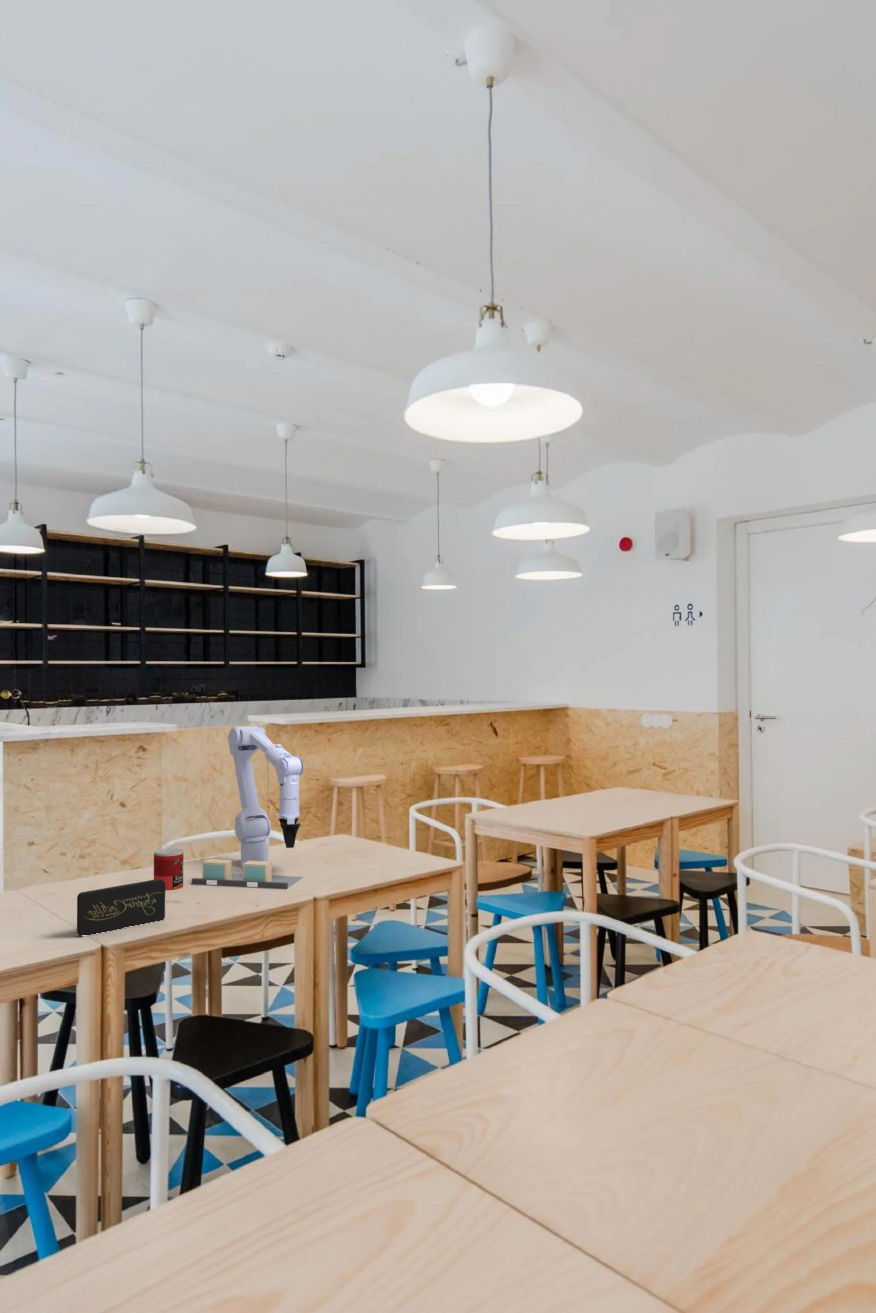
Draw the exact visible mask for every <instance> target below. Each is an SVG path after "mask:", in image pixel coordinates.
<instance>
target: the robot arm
mask: <svg viewBox="0 0 876 1313" xmlns="http://www.w3.org/2000/svg"><path fill="white" fill-rule="evenodd" d="M227 739H228V740H227V741H228V746H229V752H230V755H232V756H233V762H234V764H233V765H234V769H235V770H234V771H235V776H236V780H237V787H238V788H237V789H238V793H239V801H240V806H241V810H240V811H239V812H238V814H236V816H235V817H234V825H235V826H234V834H235V836H236V838H237V840H238V841H240V868H242V869H243V863H245V862H247V861H264V862H269V844H268V842H267V840H268V837H269V836H270V833H271V831H272V824H271V821H270V819H269V816H268V813H267V811H266V810H264V809H263V808H262V807H260V805H259V799H258V795H257V794H258V793H257V787H256V782H255V775H254V770H253V765H252V757H253V755H254V754H256V753H257V751H258V750H260V751H262V752H263V753H264V757H265V759H266V760H267V761H268V762H269V763H270V764H271V765H272V766H273V767H274V768H275V773H276V775H277V782H278V783H279V801H278V802H279V808H278V809H279V812H276V813H275V814H274V815H275V817H277V818H278V821H279V825H280V828H281V830H282V835H283V840H284V843H285V847H286V849H295V842H296V839H297V838H296V837H297V834H298V831H299V829H300V827H301V823H298V821H299V817H300V816H301V813H300V776H302V774H303V773H304V768H305V767H304V761H303V759H302V758H301V757H300V755H292V754H291V753H290V752H288V751H287V750H286V749H285V748H284V746H283V745H282V744H281V743H277V744H276V743H275V744H274V743H273V741H272V740H270V739H269V738H268V736H267V735H266V731H265V728H263V727H262V726H261V725H260V724H259V725H258V724H257V725H248V726H247V725H246V726H245V725H244V726H232V727H231V728H230V730H229V732H228V735H227Z"/></svg>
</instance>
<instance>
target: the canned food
mask: <svg viewBox="0 0 876 1313" xmlns="http://www.w3.org/2000/svg"><path fill="white" fill-rule="evenodd" d="M184 859H185V858H184V850H183V849H182V848H175V847H174V848H173V847H172V848H170V847H169V848H168V847H167V848H161V849H160V848H159V849H156V850H154V851H153V880H155V879H160V880H163V881H164V882H165V892H167V891H176V890H179V889H182V888H184Z"/></svg>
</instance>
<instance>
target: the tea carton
mask: <svg viewBox="0 0 876 1313" xmlns="http://www.w3.org/2000/svg"><path fill="white" fill-rule="evenodd" d="M272 870H273V862H272V861H268V862H264V861H247V862H245V863H243V868H242V874H243V881H262V882H272V875H273V874H272V873H273V871H272Z"/></svg>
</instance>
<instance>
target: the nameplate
mask: <svg viewBox="0 0 876 1313" xmlns="http://www.w3.org/2000/svg"><path fill="white" fill-rule="evenodd" d="M165 917H166V891H165V882H164V881H163V880H160V879H155V880H154V879H152V880H150V879H149V880H144V881H138V882H133V883H126V884H122V885H116V886H109V887H105V888H99V889H92V890H87V891H81V892H80V893H78V894H77V896H76V933H77V935H78V934H79V935H78V936H80V935H81V936H82V935H91V934H96V933H100V934H102V933H101V932H105V933H108V932H107V931H110V932H113V930H115V931H118V930H117V929H119V930H123V929H122V928H124V927H129V926H134V927H136V926H135V925H138V926H141V925H140V924H143V925H146V924H145V923H148V924H151V923H150V922H153V923H156V922H155V921H157V922H161V921H160V920H162V921H164V920H165ZM129 928H130V927H129ZM124 929H125V928H124ZM96 935H97V934H96ZM81 936H80V937H81ZM91 936H92V935H91Z"/></svg>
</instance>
